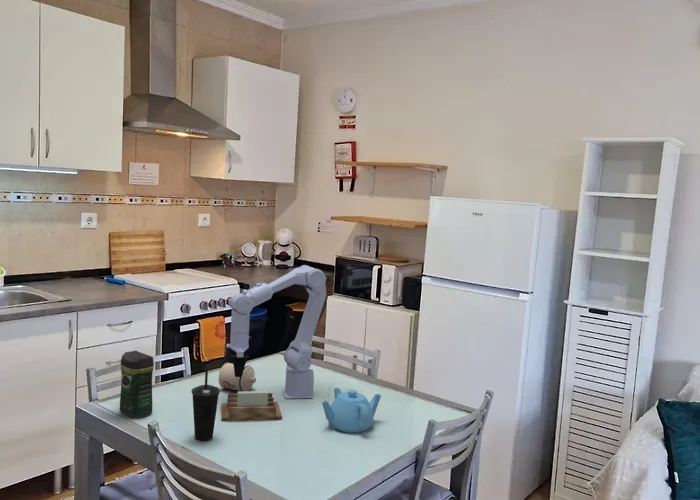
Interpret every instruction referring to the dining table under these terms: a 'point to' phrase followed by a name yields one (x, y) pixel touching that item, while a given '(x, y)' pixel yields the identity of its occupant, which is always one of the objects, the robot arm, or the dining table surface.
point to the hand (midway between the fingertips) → (237, 372)
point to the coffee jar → (136, 384)
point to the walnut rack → (249, 410)
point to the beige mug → (236, 378)
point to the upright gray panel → (252, 399)
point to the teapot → (351, 411)
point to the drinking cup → (204, 409)
